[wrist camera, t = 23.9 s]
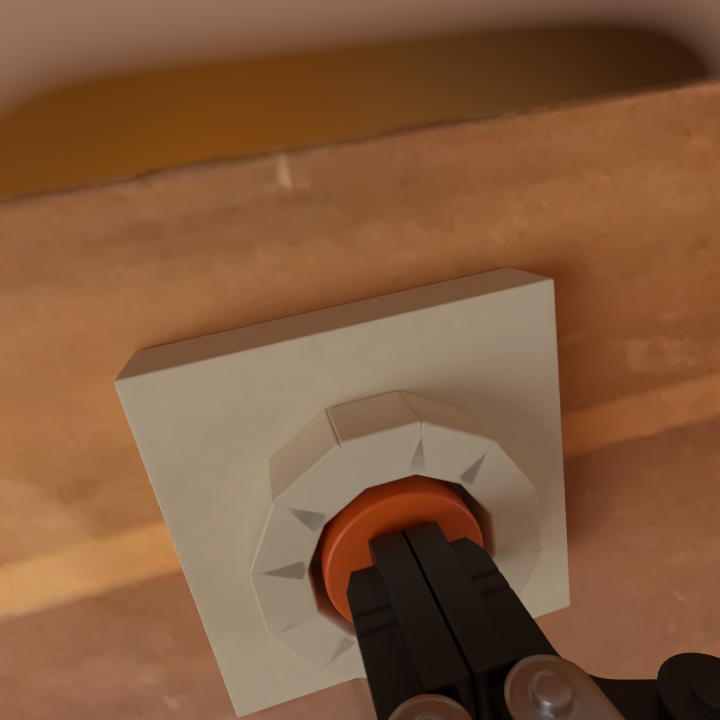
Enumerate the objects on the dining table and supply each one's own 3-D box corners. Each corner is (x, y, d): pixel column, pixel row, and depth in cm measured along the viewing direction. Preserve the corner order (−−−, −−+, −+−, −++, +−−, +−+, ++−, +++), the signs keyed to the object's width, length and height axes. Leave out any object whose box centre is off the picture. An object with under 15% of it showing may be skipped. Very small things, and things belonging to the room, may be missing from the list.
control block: (509, 266, 14) (606, 291, 10) (532, 558, 17) (611, 656, 14) (133, 351, 13) (87, 416, 9) (238, 651, 16) (236, 791, 12)
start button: (445, 437, 12) (476, 473, 11) (462, 556, 14) (491, 605, 12) (299, 477, 12) (308, 522, 10) (330, 597, 13) (342, 654, 11)
